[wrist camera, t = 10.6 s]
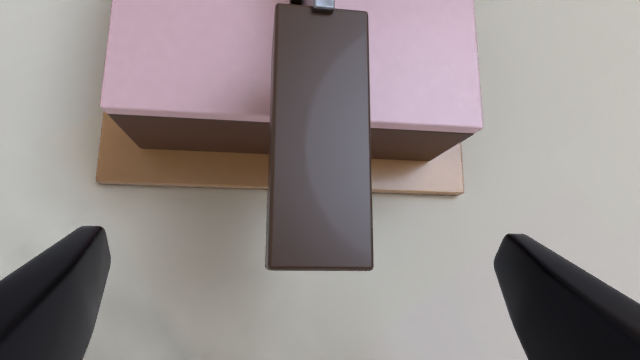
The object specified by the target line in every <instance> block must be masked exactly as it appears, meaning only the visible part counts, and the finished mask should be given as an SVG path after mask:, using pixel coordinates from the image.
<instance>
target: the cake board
mask: <svg viewBox="0 0 640 360" xmlns="http://www.w3.org/2000/svg"><path fill="white" fill-rule="evenodd" d="M290 4H292V0H290ZM268 156H269V154H254V153H231V152H208V151H184V150H161V149H141V148H139V147H138V146H137V145H136V144H135V143H134V141H133V140H132V139H131V138H130V137H129V136H128V135H127V134H126V133H125V132H124V131H123V130H122V129H121V128H120V127H119V126H118V125H117V124H116V123H115V122H114V121H113V120H112V119H111V117H110V116H109V115H108V114H107V113H105V112H104V113H103V122H102V130H101V139H100V148H99V157H98V165H97V174H96V182H98V183H100V184H124V185H155V186H187V187H219V188H251V189H267V188H268ZM371 168H372V192H378V193H410V194H442V195H460V194H463V193H464V183H463V168H462V152H461V142H460V143H459V144H457V145H455V146H454V147H452V148H450V149H449V150H447V151H446V152H444V153H442V154H441V155H439V156H437V157H436V158H434V159H433V160H431V161H412V160H389V159H371Z"/></svg>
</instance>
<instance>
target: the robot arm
mask: <svg viewBox="0 0 640 360" xmlns="http://www.w3.org/2000/svg"><path fill="white" fill-rule="evenodd" d="M110 263H111V256H110V251H109V246H108V241H107V237H106V232H105V230H104V228H103V227H101V226H82V227H80V228H78V229H76V230H75V231H73V232H72V233H70V234H69V235H67V236H66V237H64V238H63V239H61V240H60V241H58V242H57V243H56V244H54V245H53V246H51V247H50V248H48V249H47V250H45V251H44V252H42V253H41V254H39V255H38V256H36V257H35V258H33V259H32V260H30V261H29V262H27V263H26V264H24V265H23V266H21V267H20V268H18V269H17V270H15V271H14V272H13V273H11V274H10V275H8V276H7V277H5V278H4V279H2V280H1V281H0V360H82V359H83V357H84V354H85V352H86V349H87V347H88V344H89V341H90V338H91V336H92V333H93V329H94V326H95V322H96V319H97V315H98V311H99V307H100V303H101V299H102V296H103V292H104V288H105V284H106V280H107V276H108V272H109V269H110ZM494 269H495V272H496V275H497V278H498V281H499V284H500V287H501V291H502V294H503V297H504V300H505V303H506V306H507V309H508V312H509V315H510V318H511V320H512V323H513V326H514V328H515V331H516V333H517V335H518V338H519V340H520V342H521V344H522V347H523V349H524V351H525V353H526V356H527V358H528V360H640V304H639V303H637V302H635V301H634V300H632V299H630V298H629V297H627V296H626V295H624V294H622V293H621V292H619V291H617V290H616V289H614V288H612V287H611V286H609V285H607V284H606V283H604V282H603V281H601V280H599V279H598V278H596V277H594V276H593V275H591V274H589V273H588V272H586V271H584V270H583V269H581V268H580V267H578V266H576V265H575V264H573V263H571V262H570V261H568V260H566V259H565V258H563V257H561V256H560V255H558V254H557V253H555V252H553V251H552V250H550V249H548V248H547V247H545V246H543V245H542V244H540V243H538V242H537V241H535V240H534V239H532V238H530V237H529V236H527V235H525V234H507V235H506V236H505V237H504V238H503V241H502V243H501V245H500V247H499V250H498V252H497V254H496V256H495V259H494Z"/></svg>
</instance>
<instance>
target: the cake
mask: <svg viewBox="0 0 640 360" xmlns="http://www.w3.org/2000/svg"><path fill="white" fill-rule="evenodd" d="M277 3H284V4H290V0H112V7H111V15H110V24H109V32H108V41H107V49H106V58H105V66H104V75H103V84H102V92H101V101H100V107H101V108H102V109H103V110H104V112H105V113H107V114H108V115H109V116H110V117H111V119H112V120H113V121H114V122H115V123H116V124H117V125H118V126H119V127H120V128H121V129H122V130H123V131H124V132H125V133H126V134H127V135H128V136H129V137H130V138H131V139H132V140H133V141H134V143H135V144H136V145H137V146H138V147H139V148H141V149H161V150H184V151H208V152H231V153H254V154H269V123H270V90H271V57H272V40H273V27H274V13H275V6H276V4H277ZM335 8H337V9H348V10H358V11H366V12H367V13H368V22H369V71H370V119H371V159H389V160H412V161H431V160H433V159H434V158H436V157H437V156H439V155H441V154H442V153H444V152H446V151H447V150H449V149H450V148H452V147H454V146H455V145H457V144H459V143H460V142H462V141H464V140H465V139H467V138H468V137H470V136H472V135H473V134H474V133H476V132H478V131H480V130H481V129H483V117H482V104H481V91H480V78H479V65H478V52H477V39H476V26H475V13H474V0H335Z"/></svg>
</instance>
